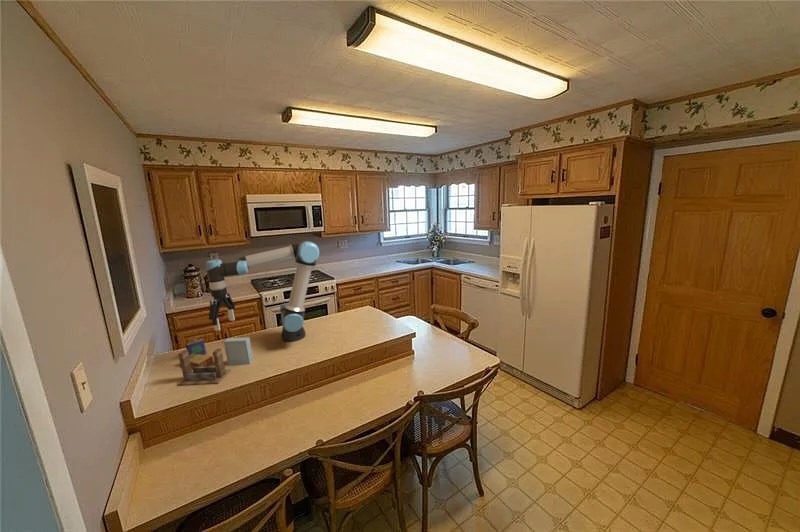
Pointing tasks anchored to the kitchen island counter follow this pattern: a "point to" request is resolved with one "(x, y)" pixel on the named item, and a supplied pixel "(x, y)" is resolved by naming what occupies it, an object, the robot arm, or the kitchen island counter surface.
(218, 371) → the track frame
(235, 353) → the door panel
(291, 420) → the kitchen island counter surface
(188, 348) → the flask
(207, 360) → the carton
